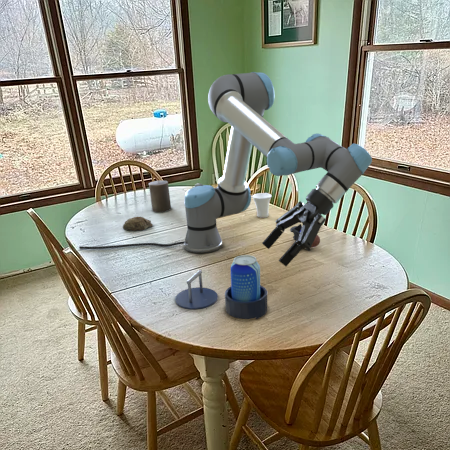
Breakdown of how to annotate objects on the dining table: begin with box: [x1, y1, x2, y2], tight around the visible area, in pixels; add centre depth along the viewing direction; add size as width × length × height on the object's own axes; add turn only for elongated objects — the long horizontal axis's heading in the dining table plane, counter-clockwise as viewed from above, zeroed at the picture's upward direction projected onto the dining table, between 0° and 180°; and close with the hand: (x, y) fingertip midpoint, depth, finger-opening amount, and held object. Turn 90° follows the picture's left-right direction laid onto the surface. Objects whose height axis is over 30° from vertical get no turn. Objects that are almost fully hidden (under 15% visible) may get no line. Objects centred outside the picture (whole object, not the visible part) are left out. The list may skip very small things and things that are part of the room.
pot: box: [224, 284, 268, 320], centre depth 131 cm, size 12×12×6 cm
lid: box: [174, 269, 219, 310], centre depth 137 cm, size 13×13×9 cm
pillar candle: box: [148, 180, 172, 213], centre depth 222 cm, size 10×10×15 cm
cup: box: [251, 192, 272, 219], centre depth 206 cm, size 9×9×10 cm
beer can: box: [230, 254, 261, 302], centre depth 128 cm, size 8×8×16 cm
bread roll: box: [122, 216, 154, 232], centre depth 203 cm, size 13×12×5 cm
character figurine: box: [289, 223, 321, 252], centre depth 172 cm, size 8×7×15 cm
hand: (273, 254), depth 126 cm, fingers open, 13 cm apart
